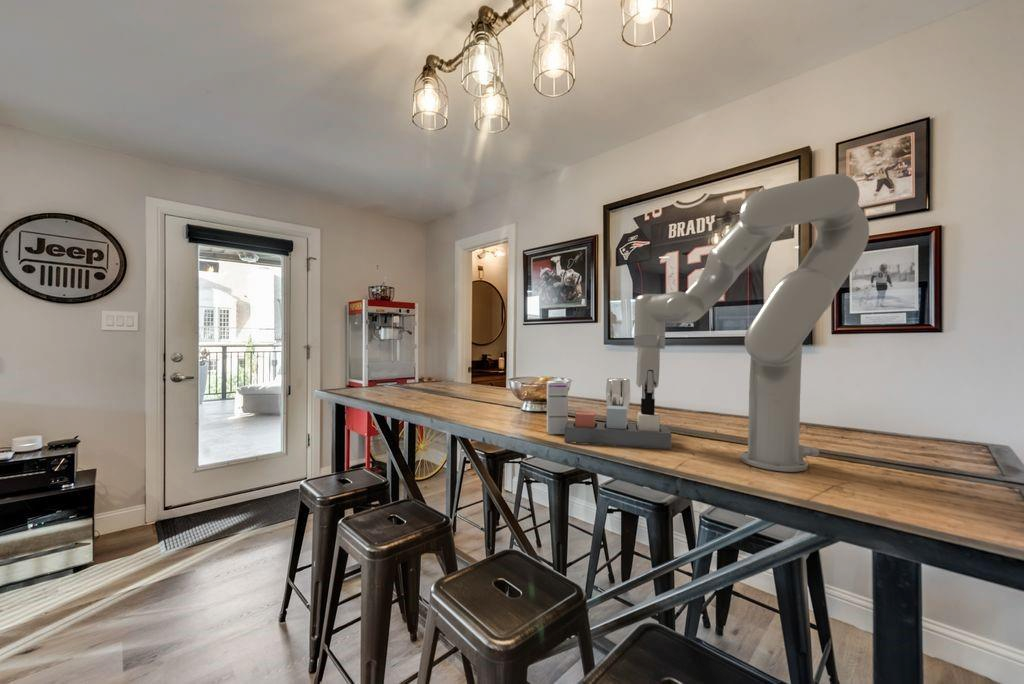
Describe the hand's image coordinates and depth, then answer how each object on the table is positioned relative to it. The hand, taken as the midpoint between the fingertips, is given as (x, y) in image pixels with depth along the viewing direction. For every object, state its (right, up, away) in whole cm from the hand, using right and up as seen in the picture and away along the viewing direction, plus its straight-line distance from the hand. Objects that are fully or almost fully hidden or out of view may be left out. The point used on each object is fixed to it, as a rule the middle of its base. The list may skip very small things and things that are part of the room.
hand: (647, 413), depth 110 cm
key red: (-15, -5, +4) cm, 17 cm away
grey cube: (-8, -4, +2) cm, 9 cm away
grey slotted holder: (-8, -8, +2) cm, 11 cm away
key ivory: (0, -5, 0) cm, 5 cm away
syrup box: (-22, -8, +12) cm, 26 cm away
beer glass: (-4, -8, +16) cm, 18 cm away
